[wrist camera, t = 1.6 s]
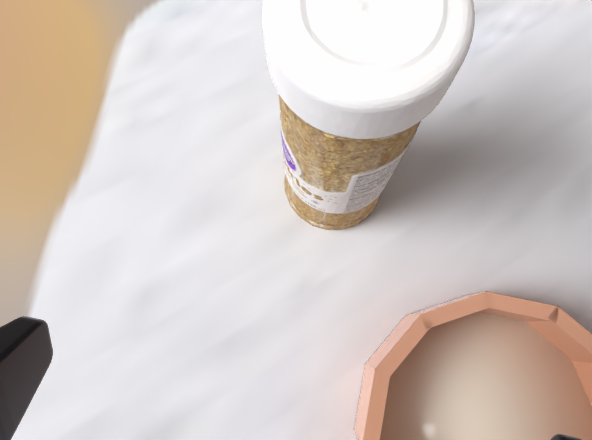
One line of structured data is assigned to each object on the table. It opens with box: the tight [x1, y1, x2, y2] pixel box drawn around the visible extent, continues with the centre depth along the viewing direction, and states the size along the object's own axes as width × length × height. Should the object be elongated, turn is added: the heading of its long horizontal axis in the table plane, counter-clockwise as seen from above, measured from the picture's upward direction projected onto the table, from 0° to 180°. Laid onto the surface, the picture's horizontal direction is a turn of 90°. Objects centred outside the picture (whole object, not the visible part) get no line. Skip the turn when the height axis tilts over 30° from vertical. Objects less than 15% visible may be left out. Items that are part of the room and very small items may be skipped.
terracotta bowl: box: [354, 291, 592, 440], centre depth 20 cm, size 10×10×3 cm
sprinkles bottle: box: [262, 0, 475, 230], centre depth 17 cm, size 5×5×14 cm
